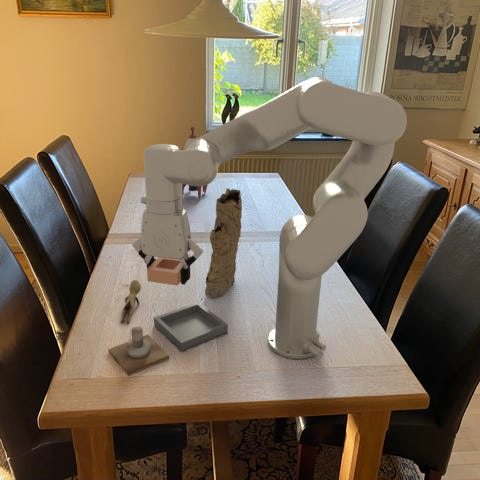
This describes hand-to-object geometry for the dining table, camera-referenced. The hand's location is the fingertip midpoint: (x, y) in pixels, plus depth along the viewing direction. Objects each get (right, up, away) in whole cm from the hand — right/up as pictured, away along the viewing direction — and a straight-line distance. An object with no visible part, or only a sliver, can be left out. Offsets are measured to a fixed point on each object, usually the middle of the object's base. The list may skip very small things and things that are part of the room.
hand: (169, 279), depth 110 cm
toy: (-4, +28, +107) cm, 110 cm away
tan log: (+11, -6, +28) cm, 31 cm away
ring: (0, +1, 0) cm, 1 cm away
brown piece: (-7, -17, +1) cm, 19 cm away
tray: (+4, -13, +11) cm, 18 cm away
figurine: (-13, -10, +19) cm, 25 cm away
